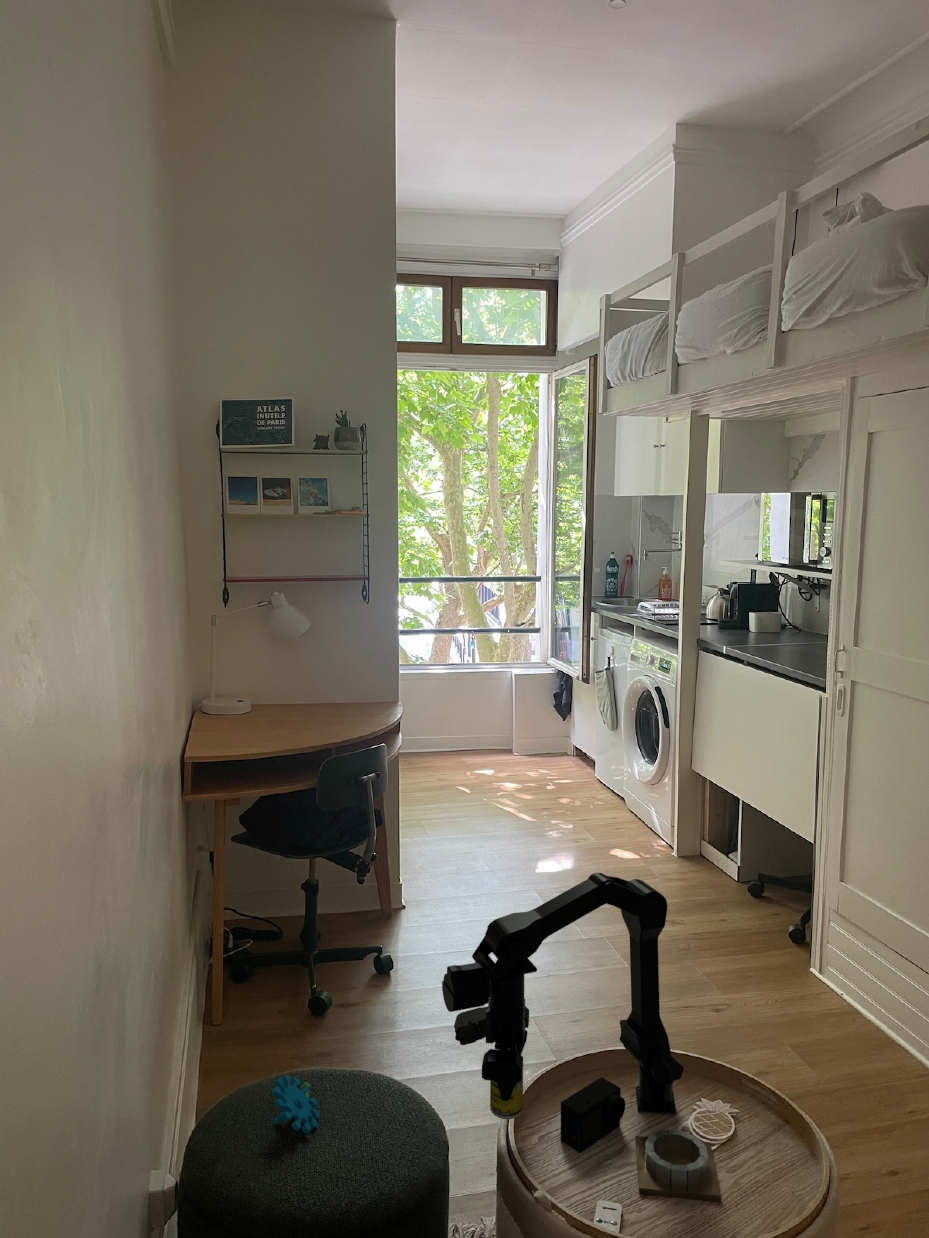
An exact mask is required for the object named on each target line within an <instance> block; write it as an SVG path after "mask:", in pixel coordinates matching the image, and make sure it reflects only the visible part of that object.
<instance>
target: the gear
mask: <svg viewBox="0 0 929 1238" xmlns="http://www.w3.org/2000/svg"><path fill="white" fill-rule="evenodd" d="M291 1080H292V1081H291ZM290 1082H291V1083H290ZM274 1085H275V1086H276V1087H275V1088H273V1090H272V1093H271V1094H272V1095H273V1096H274V1097H276V1098H278V1099H276V1100H275V1101H274V1105H275V1108H276V1109H277V1110H283V1111H282V1112H281V1113H280V1114H279V1115H278V1116H276V1118H274V1120H273V1122H274V1124H275V1125H277V1126H279V1124H281V1122H285V1123H287V1122H288V1121H290V1120H291V1119H292V1118H293V1119H294V1122H293V1123H292V1124H291V1128H292V1129H293V1130H295V1132H297V1131H299V1130H300V1129H301V1131H302V1132H303V1133H305V1134H308V1133H310V1132H311V1130H314V1129H315V1128H316V1127H317V1126H319V1123H318V1121H317V1119H318V1118H320V1114H321V1112H320V1111H319V1110H317V1109H315V1107H316V1106H318V1105H317V1104H318V1102H317V1099H316V1098H315V1097H311V1098H310V1093H311V1091H310V1089H309V1088H310V1087H311V1085H310V1083H309V1082H308V1081H305V1082H304V1083H303V1084H302V1085H301V1080H300V1079H299V1078H298V1077H295V1078H293V1079H292V1078H291V1076H290V1075H287V1074H284V1075H283V1076H282V1077H279V1078H278V1079H276V1080H275V1081H274ZM299 1085H301V1086H300V1089H299V1087H298V1086H299ZM302 1125H303V1126H302Z"/></svg>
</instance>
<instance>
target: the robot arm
mask: <svg viewBox="0 0 929 1238" xmlns="http://www.w3.org/2000/svg"><path fill="white" fill-rule="evenodd" d="M605 905H609V906H612V907H615V908H618V909H620V913H621V916H622V919H623V920H624V924H625V927H626V929H627V930H628V934H629V962H630V964H629V965H630V966H629V967H630V997H631V998H630V1002H631V1011H630V1013H629V1015H628V1016H627V1018H626V1019H620V1020H619V1027H620V1036H619V1041H620V1043H621V1044H623V1047H624V1049H625V1050H626V1052H627V1053H629V1055H630V1056H631V1057H632V1059H634V1060H635V1061H636V1062H637V1063H638V1065H639V1070H638V1071H639V1072H638V1073H639V1074H638V1075H639V1076H638V1078H639V1079H638V1082H639V1084H638V1086H636V1087H635V1095H636V1107H637V1108H636V1109H637V1111H638V1112H646V1113H656V1114H657V1113H658V1114H667V1113H668V1115H675V1114H676V1113H677V1109H676V1103H675V1102H676V1101H675V1095H674V1090H673V1085H674V1082H675V1081H678V1080H681V1078H682V1076H683V1072H684V1068H685V1067H684V1066H683V1065H682V1064H681V1063H680V1062H679V1061H678V1060H677V1059H676V1058H675V1057H674V1056H673V1055H672V1050H671V1046H670V1040H669V1037H668V1033H667V1031H666V1027H665V1026H664V1022H663V1020H662V1018H661V1015H660V1014H661V1013H660V1010H661V1009H660V1008H661V1007H660V1006H661V1005H660V972H659V971H660V970H659V969H660V968H659V936H660V935H661V932H662V931H663V929H664V928H665V925H666V922H667V913H668V901H667V899H666V897H665V896H664V894H662V893H661V892H659V891H658V890H657V889H655V888H654V887H652V886H651V885H649V884H648V883H647V882H645V881H643V880H641V879H639V878H634V879H631V880H630V879H629V880H627V879H624V878H620V877H617V876H613V875H611V876H610V875H608V874H607V875H606V874H604V873H602V872H594V873H591V874H590V875H589V876H588V878H587V879H585V880H583V881H582V882H580V883H578V884H576V885H575V886H573V887H571V888H569V889H567V890H565V891H563V892H562V893H560V894H558V895H557V896H554V897H553V898H551V899H549V900H548V901H546V902H544V903H542V904H540V905H539V906H537V907H535V908H533V909H531V910H529V911H521V912H512V913H509V914H505V915H504V916H501V917H498V918H496V919H494V920H492V921H491V922H490V923H489V924H488V925H487V929H486V930H485V933H484V936H483V938H482V940H481V941H480V942H479V944H478V946H477V947H476V949H474V952H473V953H472V954H471V958H472V960H473V961H474V962H472V963H467V964H461V965H457V964H453V965H447V968H446V973H445V974H444V976H443V980H442V981H441V988H442V989H441V990H442V996H443V1000H444V1004H445V1008H446V1009H447V1011H448V1012H449V1013H452V1012H457V1011H463V1010H466V1011H463V1012H460V1013H458V1014H457V1015H456V1018H455V1021H454V1024H453V1028H454V1033H455V1037H454V1039H455V1040H456V1042H459V1044H460V1045H461V1046H467V1045H470V1044H474V1043H476V1042H478V1041H480V1040H484V1039H485V1044H494V1048H493V1049H492V1048H489V1050H487V1051H486V1052H485V1053H484V1054H483V1059H482V1064H481V1079H483V1080H484V1081H490V1080H491V1081H496V1082H497V1085H498V1089H499V1092H500V1096H501V1100H502V1101H509V1099H510V1097H511V1094H512V1092H513V1090H514V1088H515V1086H516V1084H517V1083H518V1082H520V1081H522V1073H523V1074H524V1056H523V1055H522V1053H523V1051H524V1048H525V1046H526V1042H527V1038H528V1031H527V1030H526V1029H529V1025H530V1024H529V1023H530V1009H529V1007H527V1006H526V998H525V975H527V974H531V973H536V972H537V971H538V967H537V966H536V965H534V963H533V962H532V961H531V960H530V959H529V958H530V957H532V956H533V955H534V954H535V953H537V951H538V949H539V947H540V946H541V945H542V943H543V942H544V940H546V939H547V938H549V937H550V936H551V935H553V934H555V933H557V932H559V931H560V930H562V929H564V928H565V927H568V926H569V925H571V924H573V923H575V922H576V921H578V920H579V919H581V918H583V917H585V916H587V915H588V914H590V913H591V912H594V911H595V910H597V909H599V908H601V907H602V906H605ZM490 954H493V955H494V957H496V959H497V960H496V961H494V960H493V959H492V958H491V956H490ZM485 1005H488V1006H485ZM509 1048H510V1051H509ZM499 1049H501V1050H499ZM638 1088H639V1089H638Z"/></svg>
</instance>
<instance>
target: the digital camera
mask: <svg viewBox="0 0 929 1238" xmlns="http://www.w3.org/2000/svg"><path fill="white" fill-rule="evenodd" d="M621 1092H622V1091H621V1087H620V1086H619V1085H616V1084H614V1083H613V1082H611V1081H609V1080H608V1079H606V1078H604V1077H602V1076H601V1077H600V1078H598V1079H596V1080H594V1081H593V1082H591V1083H589V1084H588V1085H586V1086H584V1087H583V1088H581V1089H580V1090H578V1091H576V1092H574V1093H573V1094H572V1095H569V1097H566V1098H565V1099H563V1100H561V1101H560V1142H562V1143H563V1144H565V1145H566V1146H567V1147H569V1148H570V1149H572V1150H574V1151H575V1152H577V1153H578V1154H582V1153H583V1152H585V1151H586V1150H588V1149H590V1148H591V1147H592V1146H594V1145H595V1144H597V1143H598V1142H599V1141H602V1139H604V1138H605V1137H607V1136H608V1135H610V1134H612V1132H614V1131H615V1130H617V1129H619V1128H620V1127H621V1120H622V1118H623V1116H624V1114H625V1111H626V1101H625V1099H624V1097H622V1096H621Z"/></svg>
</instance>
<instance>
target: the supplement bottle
mask: <svg viewBox="0 0 929 1238" xmlns="http://www.w3.org/2000/svg"><path fill="white" fill-rule="evenodd" d="M499 1050H501V1049H499ZM509 1051H510V1048H509ZM489 1081H490V1084H489V1085H490V1086H489V1087H490V1088H489V1091H490V1092H489V1095H490V1096H489V1099H490V1100H489V1101H490V1102H489V1104H490V1105H489V1106H490V1111H491V1114H492V1115H493V1116H495V1117H496V1118H498V1119H501V1120H514V1119H517V1118H518V1117H519V1116H520V1115H521V1114H522V1113H523V1110H524V1072H523V1073H522V1081H520V1082H518V1083H517V1084H516V1086H515V1088H514V1090H513V1092H512V1094H511V1097H510V1099H509V1101H502V1100H501V1096H500V1092H499V1089H498V1085H497V1082H496V1081H491V1080H489Z"/></svg>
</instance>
